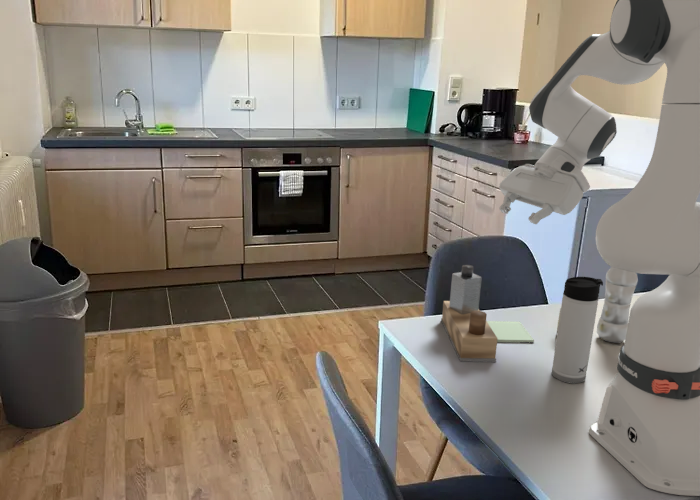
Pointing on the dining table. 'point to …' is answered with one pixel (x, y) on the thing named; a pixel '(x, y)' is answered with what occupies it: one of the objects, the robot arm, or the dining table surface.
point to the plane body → (470, 334)
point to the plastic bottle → (616, 305)
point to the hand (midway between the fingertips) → (516, 216)
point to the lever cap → (465, 291)
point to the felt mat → (510, 331)
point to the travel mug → (576, 328)
